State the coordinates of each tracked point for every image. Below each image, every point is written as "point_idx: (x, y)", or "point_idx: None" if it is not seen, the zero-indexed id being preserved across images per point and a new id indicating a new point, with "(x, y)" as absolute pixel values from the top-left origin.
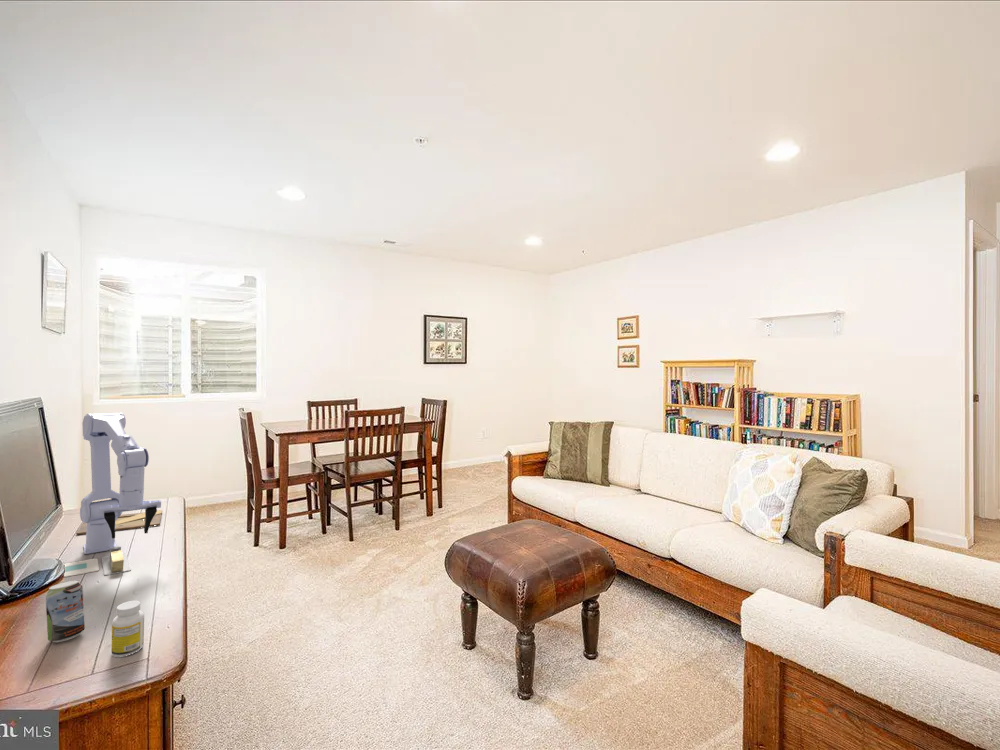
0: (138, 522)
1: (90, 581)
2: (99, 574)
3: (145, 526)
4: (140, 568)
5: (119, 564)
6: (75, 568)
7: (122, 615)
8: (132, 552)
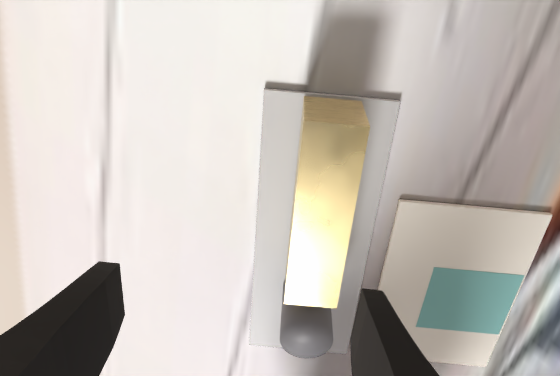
0: None
1: (481, 55)
2: (411, 143)
3: (85, 319)
4: (212, 91)
5: (326, 112)
6: (474, 288)
7: None
8: (223, 343)
